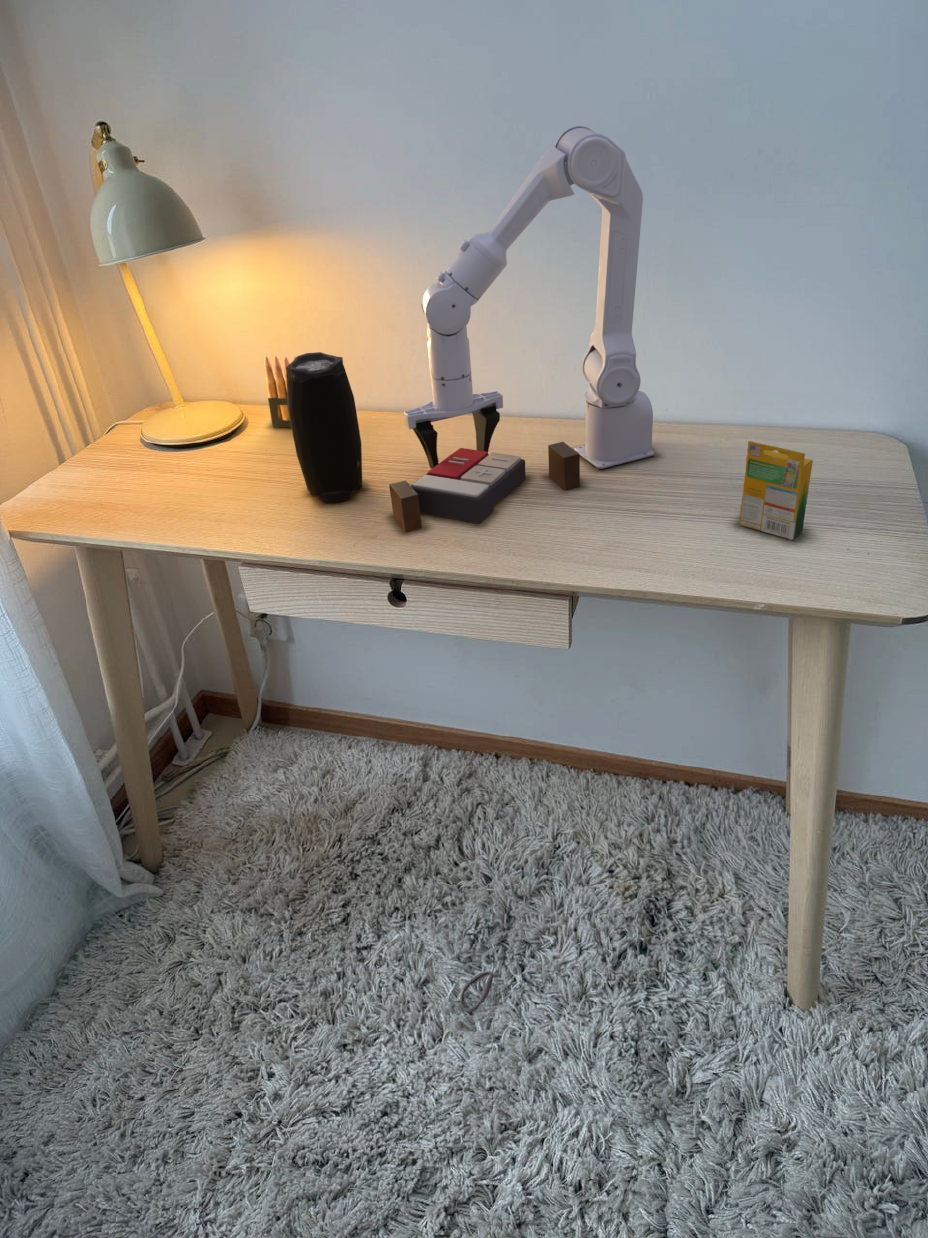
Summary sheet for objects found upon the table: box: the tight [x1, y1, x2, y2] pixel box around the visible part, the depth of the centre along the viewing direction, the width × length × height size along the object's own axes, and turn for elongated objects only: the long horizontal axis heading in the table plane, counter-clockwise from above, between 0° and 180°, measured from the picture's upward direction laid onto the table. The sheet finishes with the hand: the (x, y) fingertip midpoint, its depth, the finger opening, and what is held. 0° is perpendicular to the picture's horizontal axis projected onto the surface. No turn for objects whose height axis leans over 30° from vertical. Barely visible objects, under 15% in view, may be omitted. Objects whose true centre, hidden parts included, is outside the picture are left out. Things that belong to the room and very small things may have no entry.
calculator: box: [410, 447, 526, 524], centre depth 129 cm, size 11×4×15 cm
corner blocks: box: [388, 441, 581, 533], centre depth 127 cm, size 26×5×5 cm, turn 112°
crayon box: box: [738, 440, 813, 541], centre depth 113 cm, size 7×3×12 cm, turn 49°
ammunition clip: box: [263, 355, 297, 428], centre depth 154 cm, size 11×2×12 cm, turn 75°
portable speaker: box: [286, 351, 363, 504], centre depth 129 cm, size 9×9×20 cm
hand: (458, 462), depth 136 cm, fingers open, 7 cm apart
